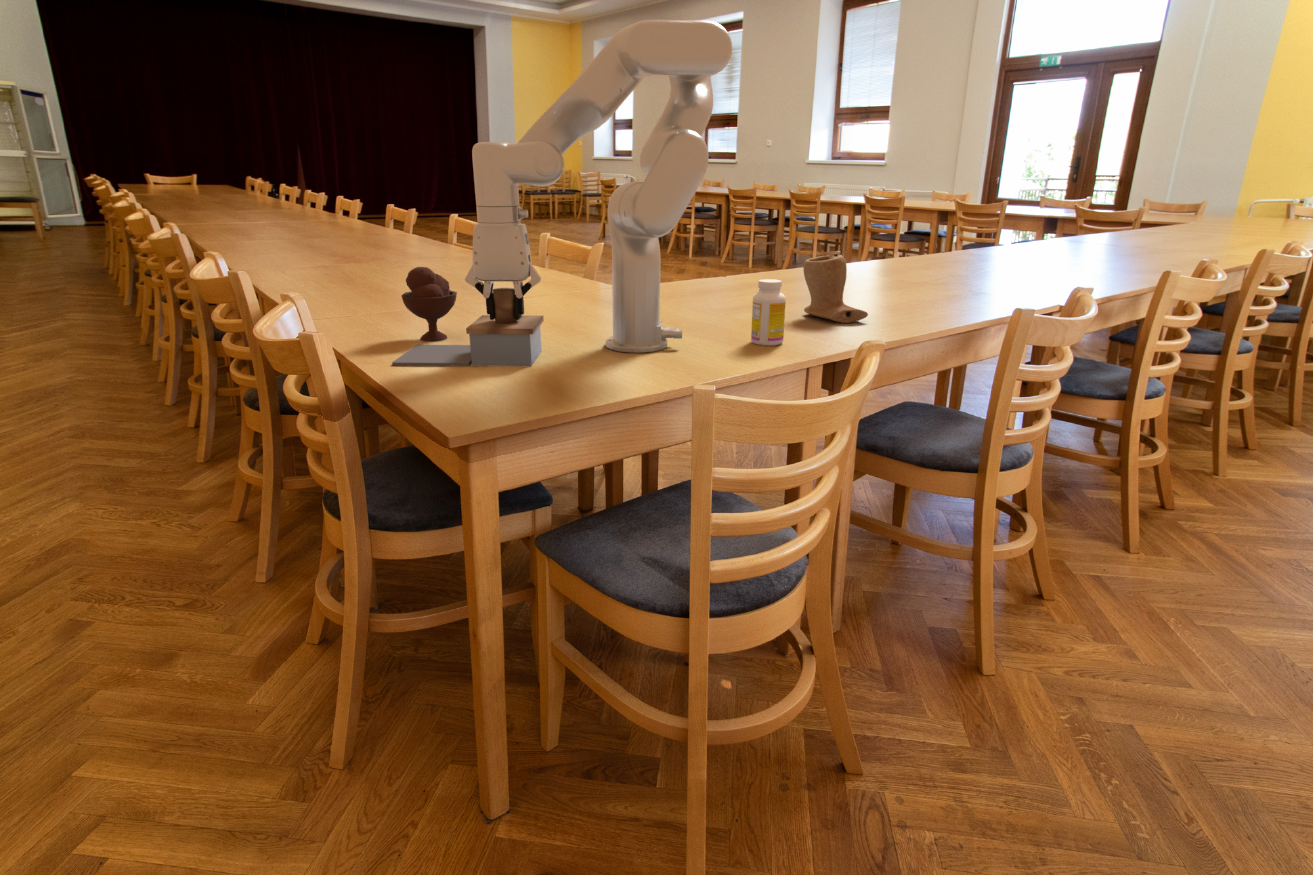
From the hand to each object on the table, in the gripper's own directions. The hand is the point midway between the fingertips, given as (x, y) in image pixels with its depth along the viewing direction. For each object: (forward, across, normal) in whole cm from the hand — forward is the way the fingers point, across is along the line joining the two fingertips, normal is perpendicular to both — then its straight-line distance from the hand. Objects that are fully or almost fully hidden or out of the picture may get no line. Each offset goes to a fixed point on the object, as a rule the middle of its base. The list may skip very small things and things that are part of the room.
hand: (505, 317), depth 138 cm
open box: (+8, 0, 0) cm, 8 cm away
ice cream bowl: (+8, +19, -16) cm, 26 cm away
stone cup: (+8, -69, -41) cm, 80 cm away
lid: (+2, 0, 0) cm, 2 cm away
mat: (+8, +13, -1) cm, 15 cm away
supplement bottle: (+8, -51, -15) cm, 54 cm away
